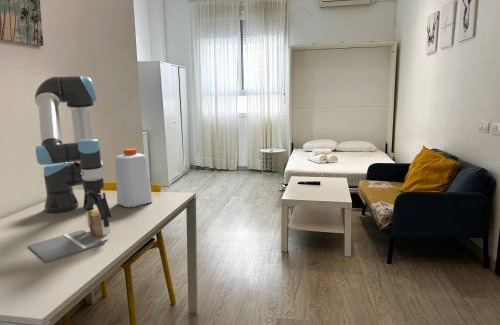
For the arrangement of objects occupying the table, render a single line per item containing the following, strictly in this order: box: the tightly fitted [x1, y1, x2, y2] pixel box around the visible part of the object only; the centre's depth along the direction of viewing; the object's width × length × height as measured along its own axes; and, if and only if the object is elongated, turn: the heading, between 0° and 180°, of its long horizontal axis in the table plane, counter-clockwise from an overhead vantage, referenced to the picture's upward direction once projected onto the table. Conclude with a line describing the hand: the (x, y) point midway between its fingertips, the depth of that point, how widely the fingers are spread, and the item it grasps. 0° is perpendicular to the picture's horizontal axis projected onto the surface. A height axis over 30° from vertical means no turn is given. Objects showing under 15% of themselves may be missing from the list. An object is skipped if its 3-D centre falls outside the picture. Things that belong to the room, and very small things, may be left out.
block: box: [88, 208, 103, 238], centre depth 144 cm, size 5×5×10 cm
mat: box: [27, 229, 105, 263], centre depth 135 cm, size 20×20×1 cm
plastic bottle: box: [115, 148, 153, 209], centre depth 183 cm, size 15×15×28 cm
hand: (99, 230), depth 145 cm, fingers open, 13 cm apart
